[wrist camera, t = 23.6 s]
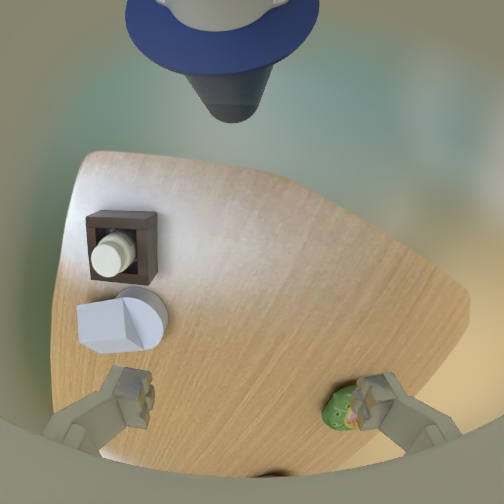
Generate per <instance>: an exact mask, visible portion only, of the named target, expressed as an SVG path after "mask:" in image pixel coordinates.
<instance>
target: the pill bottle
mask: <svg viewBox="0 0 504 504" xmlns="http://www.w3.org/2000/svg"><path fill="white" fill-rule="evenodd" d="M136 258H137V241H136V230H132V229H116V230H115V231H113V232H112V233H110V234H109V235H107V236H106V237H104V238H103V239H102V240H101V241H100V242H99V244H98V246H97V247H95V249H94V250H93V252H92V255H91V262H92V265H93V268H94V269H95V271H96V272H97V273H98V274H100V275H101V276H104V277H113V276H115V275H116V274H118V273H120V272H122V271H124V270H125V269H126V268H128V266H129V265H130V264H131V263H132V262H133V261H134V260H135V259H136Z"/></svg>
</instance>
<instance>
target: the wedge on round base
mask: <svg viewBox="0 0 504 504" xmlns="http://www.w3.org/2000/svg"><path fill="white" fill-rule="evenodd" d="M77 318H78V331H79V342H80V343H81V344H83V345H85V346H86V347H88V348H90V349H92V350H94V351H96V352H98V353H99V354H106V353H118V352H129V351H140V350H147V349H151V348H153V347H155V346H156V345H157V344H158V343H159V342H160V341H161V339H162V336H163V334H164V331H165V329H166V326H167V323H168V313H167V310H166V307H165V305H164V303H163V302H162V301H161V300H160V298H159V297H158V296H156V295H155V294H154V293H152V292H151V291H149V290H147V289H144V288H139V287H130V288H127V289H124V290H123V291H121V292H120V293H119V294H118V295H117V296H116V298H115V299H112V300H106V301H100V302H95V303H89V304H83V305H77Z"/></svg>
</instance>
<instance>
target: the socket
mask: <svg viewBox="0 0 504 504" xmlns="http://www.w3.org/2000/svg"><path fill="white" fill-rule="evenodd" d="M156 222H157V212H143V211H109V210H100V211H98V212H96V213H93V214H91V215H89V216H87V217H86V227H87V228H86V231H87V244H88V255H89V265H90V274H91V280H99V281H108V282H118V283H128V284H138V285H150V283H151V281H152V280H153V278H154V277H155V275H156V274H157V272H158V270H157V223H156ZM109 228H111V229H132V230H136V241H137V262H134V261H133V262H132V263H131V264H130V265H129V266H128V268H126V269H125V270H124V271H122V272H120V273H118V274H116V275H115V276H113V277H104V276H101V275H100V274H98V273H97V272H96V271H95V269H94V268H93V265H92V262H91V255H92V252H93V250H94V249H95V247H97V246H98V244H99V242H100V241H101V240H102V239H103V238H104V237H106V236H107V235H109Z"/></svg>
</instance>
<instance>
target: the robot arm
mask: <svg viewBox="0 0 504 504" xmlns="http://www.w3.org/2000/svg"><path fill="white" fill-rule="evenodd" d="M155 1H156V2H157V3H159V4H161V5H163V6H166V7H168V8H169V9H170V11H171V12H172V14H173V15H174V16H175V18H176V19H177V20H179V21H180V22H181V23H183V24H184V25H186V26H188V27H191V28H194V29H197V30H201V31H209V32H222V31H230V30H235V29H238V28H241V27H244V26H247V25H249V24H251V23H253V22H255V21H256V20H258V19H259V18H260V17H262V16H263V15H264V14H265V13H266V12H267V11H268V10H270V9H271V8H274V7H277V6H280V5H283V4H285V3H287V2H288V1H289V0H155ZM151 382H152V375H151V372H150V371H144V370H139V369H133V368H128V367H121V366H117V365H114V366H113V367H112V368H111V370H110V372H109V374H108V375H107V377H106V379H105V381H104V383H103V385H102V387H101V389H100V391H99V392H98V391H95V392H93V393H92V394H90V395H88V396H86V397H84V398H82V399H81V400H79V401H77V402H75V403H73V404H71V405H69V406H68V407H66V408H64V409H62V410H60V411H58V412H56V413H54V414H53V415H52V416H51V418H50V420H49V422H48V423H47V425H46V427H45V429H44V431H43V432H42V434H41V436H40V435H37V434H35V433H33V432H31V431H29V430H26V429H24V428H22V427H20V426H18V425H16V424H14V423H12V422H10V421H8V420H6V419H4V418H2V417H0V504H504V415H503V416H501V417H499V418H497V419H495V420H494V421H492V422H490V423H488V424H486V425H484V426H481V427H479V428H477V429H475V430H473V431H471V432H469V433H466V434H464V435H462V434H461V432H460V431H459V429H458V428H457V426H456V425H455V423H454V422H453V420H452V419H451V417H449V416H447V415H445V414H443V413H441V412H439V411H437V410H436V409H434V408H432V407H430V406H428V405H426V404H425V403H423V402H421V401H419V400H417V399H415V398H414V397H412V396H408V395H407V394H406V392H405V391H404V389H403V388H402V386H401V384H400V383H399V381H398V380H397V378H396V377H395V375H394V374H393V373H392V372H390V373H383V374H376V375H367V376H360V377H359V378H358V379H357V382H356V385H357V388H356V389H354V390H353V392H352V394H351V399H350V404H351V408H352V411H353V412H354V413H355V414H357V415H358V416H357V418H356V421H357V423H358V426H359V428H360V431H363V430H370V429H376V428H379V430H380V431H381V432H382V433H384V434H385V435H386V436H387V437H389V438H390V439H391V440H392V441H393V442H395V443H396V444H397V445H398V446H400V447H401V448H402V449H403V450H405V451H406V453H405V455H404V456H403V457H399V458H396V459H392V460H388V461H384V462H380V463H376V464H372V465H367V466H362V467H358V468H352V469H347V470H341V471H334V472H328V473H320V474H312V475H302V476H289V477H270V478H231V477H212V476H200V475H190V474H181V473H174V472H167V471H160V470H155V469H149V468H144V467H139V466H134V465H130V464H125V463H121V462H117V461H113V460H109V459H106V458H102V456H101V454H100V453H99V451H98V450H99V449H101V448H102V447H103V446H104V445H106V444H107V443H108V442H109V441H110V440H112V439H113V438H114V437H115V436H116V435H118V434H119V433H120V432H121V431H122V430H123V429H125V428H126V426H128V427H134V428H140V429H147V427H148V423H149V420H150V414H149V411H150V410H152V409H153V405H154V399H155V391H154V387H153V386H152V385H151Z"/></svg>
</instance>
